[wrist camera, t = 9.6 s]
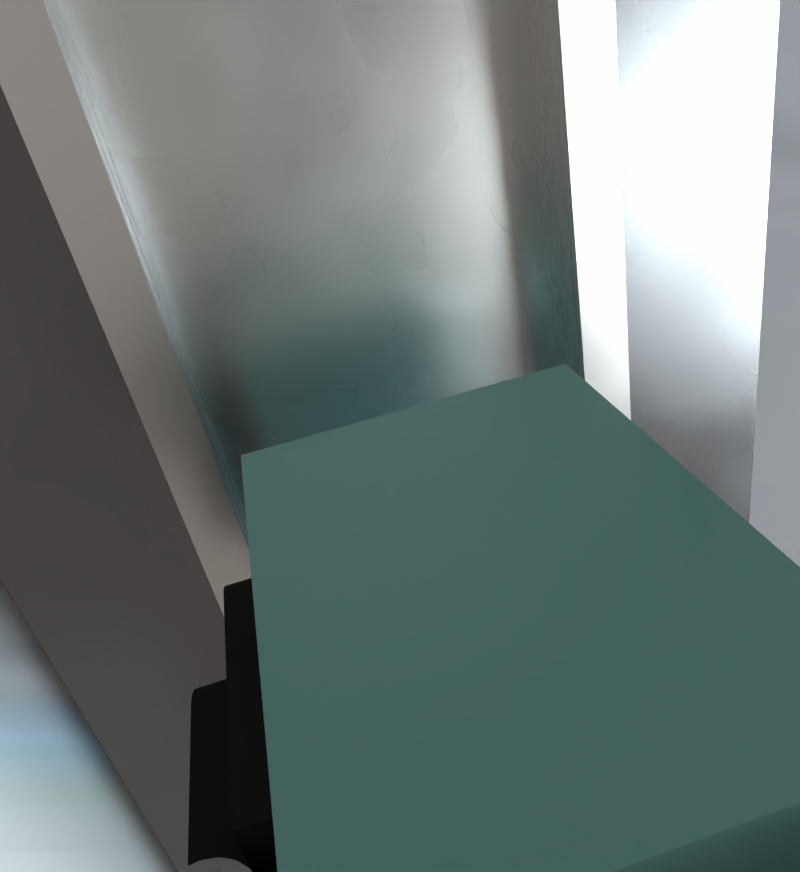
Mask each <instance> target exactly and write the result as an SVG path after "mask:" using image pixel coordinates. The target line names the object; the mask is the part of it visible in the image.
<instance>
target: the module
mask: <svg viewBox="0 0 800 872" xmlns="http://www.w3.org/2000/svg"><path fill="white" fill-rule="evenodd" d="M241 465H242V476H243V488H244V499H245V510H246V522H247V533H248V544H249V556H250V567H251V578H252V590H253V601H254V612H255V624H256V635H257V646H258V658H259V669H260V680H261V692H262V703H263V714H264V726H265V737H266V748H267V760H268V771H269V782H270V794H271V805H272V816H273V828H274V839H275V850H276V862H277V872H800V567H799V566H798V565H796V564H795V563H794V562H793V561H792V560H791V559H789V558H788V557H787V556H786V555H785V554H784V553H783V552H781V551H780V550H779V549H778V548H777V547H776V546H775V545H773V544H772V543H771V542H770V541H769V540H768V539H767V538H765V537H764V536H763V535H762V534H761V533H760V532H758V531H757V530H756V529H755V528H754V527H753V526H752V525H750V524H749V523H748V522H747V521H746V520H745V519H744V518H742V517H741V516H740V515H739V514H738V513H737V512H735V511H734V510H733V509H732V508H731V507H730V506H729V505H727V504H726V503H725V502H724V501H723V500H722V499H721V498H719V497H718V496H717V495H716V494H715V493H714V492H712V491H711V490H710V489H709V488H708V487H707V486H706V485H704V484H703V483H702V482H701V481H700V480H699V479H698V478H696V477H695V476H694V475H693V474H692V473H691V472H689V471H688V470H687V469H686V468H685V467H684V466H683V465H681V464H680V463H679V462H678V461H677V460H676V459H675V458H673V457H672V456H671V455H670V454H669V453H668V452H666V451H665V450H664V449H663V448H662V447H661V446H660V445H658V444H657V443H656V442H655V441H654V440H653V439H652V438H650V437H649V436H648V435H647V434H646V433H645V432H643V431H642V430H641V429H640V428H639V427H638V426H637V425H635V424H634V423H633V422H632V421H631V420H630V419H629V418H627V417H626V416H625V415H624V414H623V413H622V412H620V411H619V410H618V409H617V408H616V407H615V406H614V405H612V404H611V403H610V402H609V401H608V400H607V399H606V398H604V397H603V396H602V395H601V394H600V393H599V392H597V391H596V390H595V389H594V388H593V387H592V386H591V385H589V384H588V383H587V382H586V381H585V380H584V379H583V378H581V377H580V376H579V375H578V374H577V373H576V372H574V371H573V370H572V369H571V368H570V367H569V366H568V365H566V364H563V365H559V366H556V367H552V368H548V369H545V370H541V371H538V372H534V373H531V374H527V375H524V376H520V377H517V378H513V379H509V380H506V381H502V382H499V383H495V384H492V385H488V386H485V387H481V388H478V389H474V390H471V391H467V392H463V393H460V394H456V395H453V396H449V397H446V398H442V399H439V400H435V401H432V402H428V403H424V404H421V405H417V406H414V407H410V408H407V409H403V410H400V411H396V412H393V413H389V414H385V415H382V416H378V417H375V418H371V419H368V420H364V421H361V422H357V423H354V424H350V425H346V426H343V427H339V428H336V429H332V430H329V431H325V432H322V433H318V434H315V435H311V436H307V437H304V438H300V439H297V440H293V441H290V442H286V443H283V444H279V445H276V446H272V447H268V448H265V449H261V450H258V451H254V452H251V453H247V454H244V455H241Z"/></svg>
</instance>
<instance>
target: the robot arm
mask: <svg viewBox="0 0 800 872" xmlns="http://www.w3.org/2000/svg"><path fill="white" fill-rule="evenodd" d="M223 595H224V623H225V652H226V679H225V680H221V681H218V682H215V683H212V684H209V685H206V686H202V687H199V688H196V689H194V691H193V693H192V699H191V729H190V778H189V826H188V866H187V867H185V868H183V869H181V870H180V871H178V872H277V862H276V850H275V839H274V828H273V816H272V805H271V794H270V782H269V771H268V760H267V748H266V737H265V726H264V714H263V703H262V692H261V680H260V669H259V658H258V646H257V635H256V624H255V612H254V601H253V590H252V578H249V579H246V580H243V581H240V582H236V583H233V584H230V585H226V586H224V591H223Z"/></svg>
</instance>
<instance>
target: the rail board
mask: <svg viewBox="0 0 800 872" xmlns="http://www.w3.org/2000/svg"><path fill="white" fill-rule="evenodd" d="M779 11H780V0H0V579H1V580H2V582H3V584H4V585H5V587H6V589H7V590H8V592H9V594H10V595H11V597H12V599H13V600H14V602H15V604H16V605H17V607H18V609H19V610H20V612H21V613H22V615H23V617H24V618H25V620H26V622H27V623H28V625H29V627H30V628H31V630H32V632H33V633H34V635H35V637H36V638H37V640H38V642H39V643H40V645H41V646H42V648H43V650H44V651H45V653H46V655H47V656H48V658H49V660H50V661H51V663H52V665H53V666H54V668H55V670H56V671H57V673H58V675H59V676H60V678H61V680H62V681H63V683H64V684H65V686H66V688H67V689H68V691H69V693H70V694H71V696H72V698H73V699H74V701H75V703H76V704H77V706H78V708H79V709H80V711H81V713H82V714H83V716H84V717H85V719H86V721H87V722H88V724H89V726H90V727H91V729H92V731H93V732H94V734H95V736H96V737H97V739H98V741H99V742H100V744H101V746H102V747H103V749H104V751H105V752H106V754H107V755H108V757H109V759H110V760H111V762H112V764H113V765H114V767H115V769H116V770H117V772H118V774H119V775H120V777H121V779H122V780H123V782H124V784H125V785H126V787H127V788H128V790H129V792H130V793H131V795H132V797H133V798H134V800H135V802H136V803H137V805H138V807H139V808H140V810H141V812H142V813H143V815H144V817H145V818H146V820H147V822H148V823H149V825H150V826H151V828H152V830H153V831H154V833H155V835H156V836H157V838H158V840H159V841H160V843H161V845H162V846H163V848H164V850H165V851H166V853H167V855H168V856H169V858H170V859H171V861H172V863H173V864H174V866H175V868H176V869H177V871H180V870H181V869H183V868H185V867H187V866H188V826H189V778H190V729H191V699H192V693H193V691H194V689H196V688H199V687H202V686H206V685H209V684H212V683H215V682H218V681H221V680H225V679H226V652H225V623H224V595H223V591H224V586H226V585H230V584H233V583H236V582H240V581H243V580H246V579H249V578H251V567H250V556H249V544H248V533H247V522H246V510H245V499H244V488H243V476H242V465H241V455H244V454H247V453H251V452H254V451H258V450H261V449H265V448H268V447H272V446H276V445H279V444H283V443H286V442H290V441H293V440H297V439H300V438H304V437H307V436H311V435H315V434H318V433H322V432H325V431H329V430H332V429H336V428H339V427H343V426H346V425H350V424H354V423H357V422H361V421H364V420H368V419H371V418H375V417H378V416H382V415H385V414H389V413H393V412H396V411H400V410H403V409H407V408H410V407H414V406H417V405H421V404H424V403H428V402H432V401H435V400H439V399H442V398H446V397H449V396H453V395H456V394H460V393H463V392H467V391H471V390H474V389H478V388H481V387H485V386H488V385H492V384H495V383H499V382H502V381H506V380H509V379H513V378H517V377H520V376H524V375H527V374H531V373H534V372H538V371H541V370H545V369H548V368H552V367H556V366H559V365H563V364H566V365H568V366H569V367H570V368H571V369H572V370H573V371H574V372H576V373H577V374H578V375H579V376H580V377H581V378H583V379H584V380H585V381H586V382H587V383H588V384H589V385H591V386H592V387H593V388H594V389H595V390H596V391H597V392H599V393H600V394H601V395H602V396H603V397H604V398H606V399H607V400H608V401H609V402H610V403H611V404H612V405H614V406H615V407H616V408H617V409H618V410H619V411H620V412H622V413H623V414H624V415H625V416H626V417H627V418H629V419H630V420H631V421H632V422H633V423H634V424H635V425H637V426H638V427H639V428H640V429H641V430H642V431H643V432H645V433H646V434H647V435H648V436H649V437H650V438H652V439H653V440H654V441H655V442H656V443H657V444H658V445H660V446H661V447H662V448H663V449H664V450H665V451H666V452H668V453H669V454H670V455H671V456H672V457H673V458H675V459H676V460H677V461H678V462H679V463H680V464H681V465H683V466H684V467H685V468H686V469H687V470H688V471H689V472H691V473H692V474H693V475H694V476H695V477H696V478H698V479H699V480H700V481H701V482H702V483H703V484H704V485H706V486H707V487H708V488H709V489H710V490H711V491H712V492H714V493H715V494H716V495H717V496H718V497H719V498H721V499H722V500H723V501H724V502H725V503H726V504H727V505H729V506H730V507H731V508H732V509H733V510H734V511H735V512H737V513H738V514H739V515H740V516H741V517H742V518H744V519H745V520H746V521H747V522H748V523H749V514H750V497H751V480H752V463H753V447H754V430H755V413H756V396H757V380H758V363H759V346H760V329H761V313H762V296H763V279H764V262H765V246H766V229H767V212H768V195H769V179H770V162H771V145H772V128H773V112H774V95H775V78H776V61H777V45H778V28H779Z"/></svg>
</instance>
